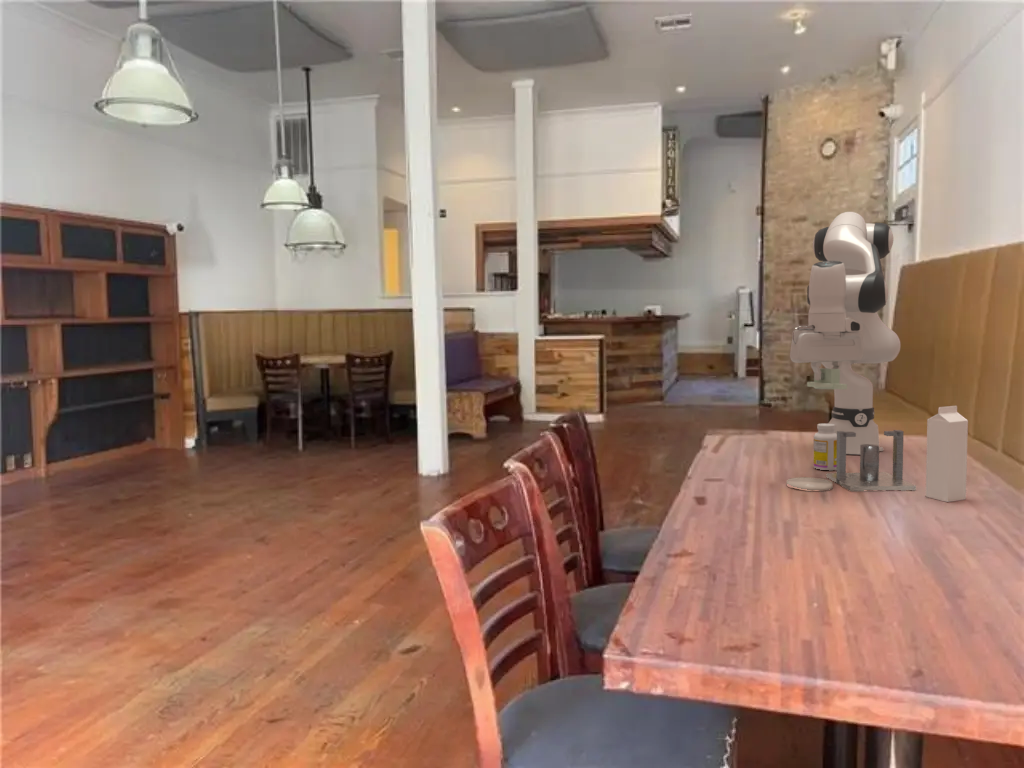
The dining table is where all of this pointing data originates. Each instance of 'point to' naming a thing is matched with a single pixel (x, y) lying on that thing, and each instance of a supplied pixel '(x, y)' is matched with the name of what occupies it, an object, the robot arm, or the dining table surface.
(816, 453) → the supplement bottle
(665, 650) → the dining table surface
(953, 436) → the milk
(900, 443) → the twin post base plate
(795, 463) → the dining table surface
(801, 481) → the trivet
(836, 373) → the pale green disc-and-bar piece
